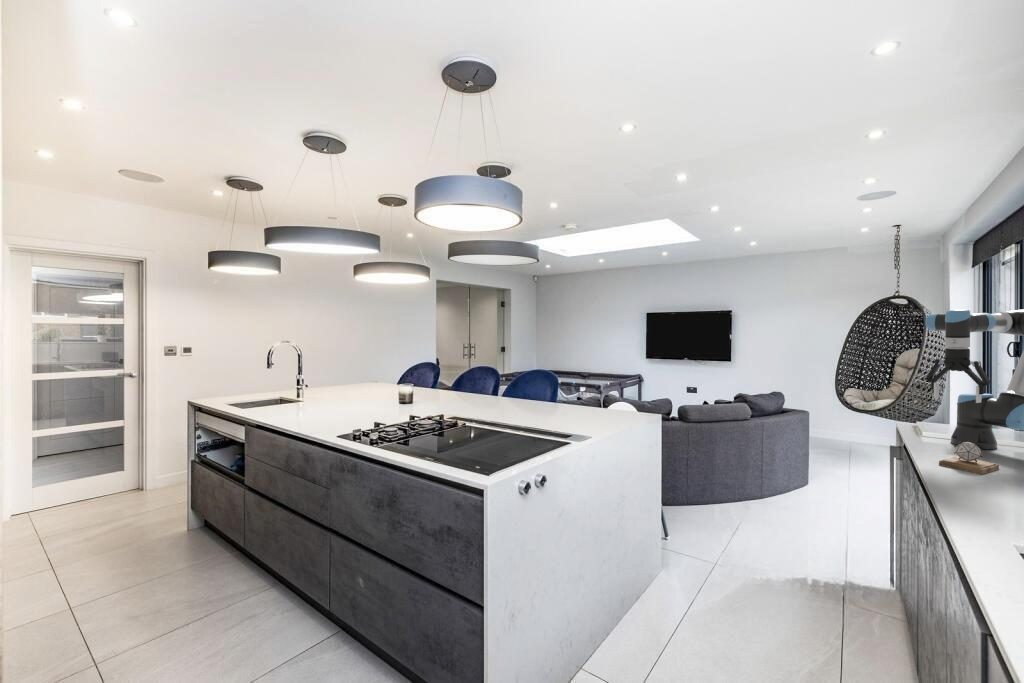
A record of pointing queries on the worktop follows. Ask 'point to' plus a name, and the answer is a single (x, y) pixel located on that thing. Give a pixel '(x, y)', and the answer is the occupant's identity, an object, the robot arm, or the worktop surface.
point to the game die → (968, 451)
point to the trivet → (969, 465)
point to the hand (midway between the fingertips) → (956, 400)
